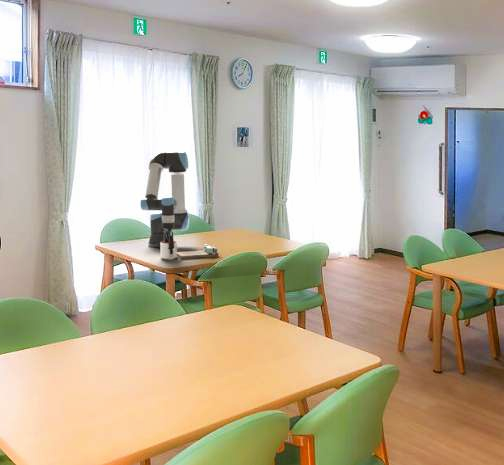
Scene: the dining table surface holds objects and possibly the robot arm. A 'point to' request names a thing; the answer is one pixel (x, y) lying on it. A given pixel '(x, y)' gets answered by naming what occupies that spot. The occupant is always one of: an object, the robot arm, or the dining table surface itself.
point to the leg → (208, 248)
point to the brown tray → (197, 254)
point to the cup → (167, 250)
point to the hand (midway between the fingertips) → (168, 257)
